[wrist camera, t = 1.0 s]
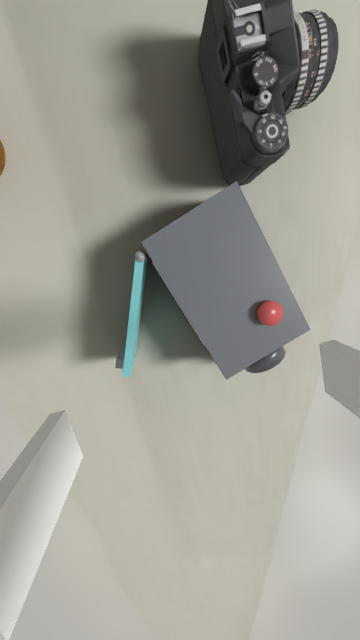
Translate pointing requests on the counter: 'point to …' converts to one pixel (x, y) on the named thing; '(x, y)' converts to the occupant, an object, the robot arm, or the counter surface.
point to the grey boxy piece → (228, 283)
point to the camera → (261, 76)
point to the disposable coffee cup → (2, 158)
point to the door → (133, 315)
